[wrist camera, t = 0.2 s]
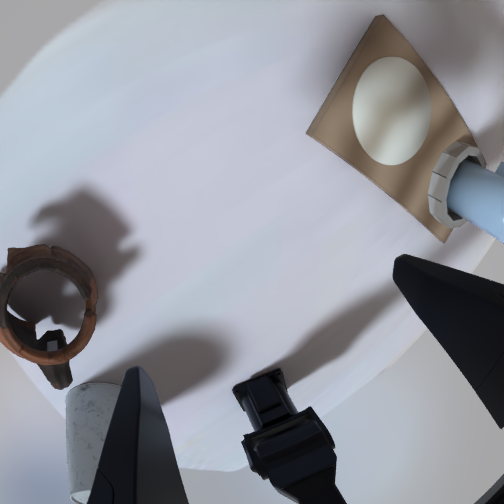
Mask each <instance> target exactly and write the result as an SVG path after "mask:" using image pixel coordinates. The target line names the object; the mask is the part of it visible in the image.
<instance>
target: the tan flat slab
mask: <svg viewBox="0 0 504 504" xmlns="http://www.w3.org/2000/svg"><path fill="white" fill-rule="evenodd" d="M306 134H307V135H309V136H310V137H312V138H313V139H315V140H316V141H318V142H319V143H320V144H322V145H323V146H325V147H326V148H328V149H329V150H330V151H332V152H333V153H335V154H336V155H337V156H339V157H340V158H341V159H343V160H344V161H346V162H347V163H348V164H350V165H351V166H352V167H354V168H355V169H356V170H357V171H359V172H360V173H361V174H363V175H364V176H365V177H367V178H368V179H369V180H370V181H372V182H373V183H374V184H375V185H377V186H378V187H379V188H380V189H382V190H383V191H384V192H385V193H387V194H388V195H389V196H390V197H391V198H393V199H394V200H395V201H396V202H397V203H399V204H400V205H401V206H402V207H403V208H404V209H406V210H407V211H408V212H409V213H410V214H411V215H412V216H414V217H415V218H416V219H417V220H418V221H419V222H420V223H421V224H422V225H424V226H425V227H426V228H427V229H428V230H429V231H430V232H431V233H432V234H433V235H434V236H435V237H436V238H438V239H439V240H440V241H441V242H443V243H444V244H445V242H446V240H447V238H448V237H449V235H450V233H451V232H452V230H453V228H456V227H460V226H462V225H463V224H464V223H465V222H466V221H467V220H466V219H464V218H463V217H461V216H459V215H458V214H456V213H454V212H453V211H451V210H449V209H448V208H447V200H446V198H447V194H448V190H449V185H450V181H451V179H452V177H453V175H454V173H455V171H456V169H457V167H458V165H459V163H460V162H462V161H463V160H464V159H465V160H468V161H470V162H472V163H475V164H477V165H479V166H481V167H484V168H485V166H486V163H485V159H484V157H483V155H482V153H481V151H480V149H479V148H478V147H477V145H476V143H475V141H474V139H473V137H472V135H471V134H470V132H469V130H468V128H467V126H466V125H465V123H464V121H463V119H462V118H461V116H460V114H459V113H458V111H457V110H456V108H455V106H454V105H453V103H452V102H451V100H450V98H449V97H448V95H447V94H446V92H445V91H444V89H443V88H442V86H441V85H440V84H439V82H438V81H437V79H436V78H435V76H434V75H433V74H432V72H431V71H430V70H429V68H428V67H427V66H426V64H425V63H424V62H423V60H422V59H421V58H420V56H419V55H418V54H417V53H416V51H415V50H414V49H413V48H412V46H411V45H410V44H409V43H408V42H407V40H406V39H405V38H404V37H403V36H402V35H401V34H400V32H399V31H398V30H397V29H396V28H395V27H394V26H393V25H392V23H391V22H390V21H389V20H388V19H387V18H386V17H385V16H384V15H380V16H376V17H375V18H374V20H373V21H372V23H371V25H370V26H369V28H368V30H367V31H366V33H365V35H364V36H363V38H362V40H361V41H360V43H359V45H358V46H357V48H356V50H355V51H354V53H353V55H352V56H351V58H350V60H349V61H348V63H347V65H346V66H345V68H344V70H343V71H342V73H341V75H340V76H339V78H338V80H337V81H336V83H335V85H334V86H333V88H332V90H331V91H330V93H329V95H328V96H327V98H326V100H325V101H324V103H323V105H322V107H321V108H320V110H319V112H318V113H317V115H316V117H315V118H314V120H313V122H312V124H311V125H310V127H309V129H308V130H307V132H306Z"/></svg>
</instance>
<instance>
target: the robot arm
mask: <svg viewBox="0 0 504 504" xmlns="http://www.w3.org/2000/svg"><path fill="white" fill-rule="evenodd" d="M393 280H394V282H395V284H396V285H397V286H398V288H399V289H400V291H401V292H402V294H403V295H404V297H405V298H406V300H407V301H408V303H409V304H410V306H411V307H412V309H413V310H414V311H415V313H416V314H417V315H418V317H419V318H420V319H421V320H422V322H423V323H424V324H425V325H426V327H427V328H428V329H429V330H430V332H431V333H432V334H433V335H434V337H435V338H436V339H437V340H438V342H439V343H440V344H441V346H442V347H443V348H444V350H446V352H447V353H448V355H449V356H450V357H451V359H452V360H453V361H454V363H455V364H456V365H457V367H458V368H459V369H460V371H461V372H462V374H463V375H464V376H465V378H466V379H467V380H468V382H469V383H470V385H471V386H472V388H473V389H474V390H475V392H476V394H477V395H478V396H479V398H480V399H481V400H482V402H483V403H484V405H485V407H486V408H487V409H488V411H489V413H490V414H491V416H492V417H493V419H494V420H495V422H496V423H497V425H498V426H499V428H500V429H502V428H503V427H504V284H501V283H498V282H495V281H490V280H489V279H485V278H482V277H479V276H476V275H473V274H470V273H467V272H464V271H460V270H457V269H454V268H451V267H448V266H444V265H441V264H438V263H434V262H431V261H428V260H424V259H421V258H418V257H414V256H411V255H407V254H403V255H401V256H399V257H397V258H396V259H395V261H394V268H393ZM232 391H233V394H234V395H235V397H236V399H237V401H238V402H239V404H240V406H241V408H242V409H243V411H246V413H247V415H248V417H249V420H250V422H251V424H252V426H253V429H254V431H255V432H252V433H250V434H245V435H243V436H244V438H245V439H244V440H243V441H242V442H241V443H242V445H243V448H244V450H245V453H246V455H247V459H248V462H249V465H250V468H251V470H252V471H253V472H256V473H258V474H259V476H260V475H261V477H262V479H263V480H265V479H268V478H269V480H270V482H271V484H272V485H273V487H274V488H275V489H276V490H277V491H278V492H279V493H280V494H282V495H283V496H285V497H287V498H289V499H290V500H292V501H294V502H296V503H298V504H347V503H346V502H345V500H344V498H343V497H342V495H341V493H340V492H339V490H338V488H337V487H336V485H335V475H336V461H337V456H336V454H335V453H334V450H333V449H334V448H335V444H334V441H333V439H332V436H331V435H330V433H329V431H328V429H327V428H326V426H325V425H324V424H323V423H322V421H321V420H320V418H319V417H318V416H317V414H316V413H315V412H314V410H313V409H312V407H311V406H310V407H308V408H306V409H305V410H303V411H301V412H299V413H298V411H297V409H296V407H295V406H294V404H293V402H292V400H291V398H290V397H289V395H288V393H287V388H286V384H285V380H284V376H283V372H282V370H281V369H277V370H274V371H272V372H270V373H268V374H265V375H263V376H261V377H258V378H256V379H254V380H251V381H249V382H246V383H244V384H242V385H239V386H237V387H234V388H233V389H232ZM87 504H189V503H188V499H187V497H186V493H185V490H184V486H183V483H182V480H181V476H180V472H179V469H178V465H177V461H176V458H175V454H174V450H173V446H172V442H171V438H170V433H169V430H168V426H167V423H166V420H165V417H164V414H163V412H162V409H161V406H160V403H159V400H158V397H157V393H156V390H155V387H154V384H153V382H152V380H151V379H150V378H149V376H148V375H147V374H146V373H145V371H144V370H143V369H142V368H141V367H140V366H136V367H133V368H130V369H128V370H127V372H126V374H125V377H124V380H123V383H122V386H121V389H120V392H119V395H118V398H117V401H116V405H115V408H114V411H113V414H112V417H111V421H110V424H109V427H108V431H107V434H106V437H105V441H104V444H103V448H102V451H101V455H100V459H99V462H98V468H97V470H96V474H95V477H94V481H93V485H92V488H91V492H90V495H89V498H88V501H87ZM474 504H504V474H503V475H502V476H501V478H500V479H499V480H498V481H497V482H496V483H495V484H494V485H493V486H492V487H491V488H490V489H489V490H488V491H487V492H486V493H485V494H484V495H483V496H482V497H481V498H480V499H479V500H478V501H477V502H475V503H474Z"/></svg>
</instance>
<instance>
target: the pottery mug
mask: <svg viewBox="0 0 504 504" xmlns="http://www.w3.org/2000/svg"><path fill="white" fill-rule="evenodd" d="M38 270H50V271H55V272H57V273H59V274H62V275H64V276H65V277H67V278H68V279H70V280H71V281H72V282H73V283H74V284H75V285H76V287H77V288H78V290H79V291H80V293H81V295H82V297H83V298H84V300H85V302H86V311H85V314H84V320H83V324H82V327H81V329H80V331H79V333H78V335H77V336H76V337H75V339H74V340H73V341H72V342H70V343H69V344H67V342H66V338H65V336H64V334H63V331H62V330H61V329H58V330H54V331H47V332H46V333H45V334H44V335H43V336H42V337H41V338H40V339H38V340H37V338H36V331H35V328H36V326H35V322H29V321H24V320H21V319H18V318H17V317H15V316H14V315H12V314H11V313H9V312H8V311H7V303H8V299H9V295H10V293H11V290H12V289H13V287H14V285H15V284H16V282H17V281H18V280H20V279H21V278H22V277H23V276H25V275H27V274H29V273H31V272H34V271H38ZM97 299H98V293H97V287H96V283H95V280H94V277H93V274H92V272H91V270H90V268H89V267H88V266H87V265H86V264H85V263H84V262H82V261H81V260H80V259H79V258H77V257H76V256H75V255H73V254H72V253H70V252H69V251H67V250H64V249H62V248H60V247H58V246H52V247H51V249H50V248H49V247H48V246H47V245H45V244H42V245H35V246H30V247H27V248H8V257H7V273H6V274H2V273H0V342H1V343H2V344H3V345H4V346H5V347H6V348H7V349H8V350H10V351H11V352H12V353H14V354H16V355H17V356H19V357H21V358H25V359H27V360H29V361H31V362H33V363H36V364H37V365H38V366H39V367H40V369H41V370H42V372H43V373H44V375H45V377H46V378H47V380H48V381H49V382H50V383H51V385H52V386H53V387H54V388H55V389H59V390H62V389H64V388H66V387H68V386H69V385H70V384H71V383H72V381H73V378H72V374H71V370H70V366H69V360H70V359H72V358H73V357H75V356H76V355H77V354H78V353H80V352H81V351H82V350H83V349H84V348H85V346H86V345H87V344H88V342H89V340H90V339H91V337H92V334H93V332H94V330H95V324H96V316H97V315H96V314H95V311H96V305H95V304H96V302H97Z"/></svg>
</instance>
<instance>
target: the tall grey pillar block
mask: <svg viewBox="0 0 504 504" xmlns="http://www.w3.org/2000/svg"><path fill="white" fill-rule="evenodd" d="M120 389H121V386H120V385H116V384H111V383H102V382H94V383H86V384H82V385H79V386H77V387H74V388H73V389H72V390H70V391H69V392H68V394H67V395H66V400H65V403H66V447H67V464H68V476H69V485H70V499H71V500H72V501H73V502H75V503H76V504H87V501H88V498H89V495H90V492H91V488H92V485H93V481H94V477H95V474H96V470H97V468H98V462H99V459H100V455H101V451H102V448H103V444H104V441H105V437H106V434H107V431H108V427H109V424H110V421H111V417H112V414H113V411H114V408H115V405H116V401H117V398H118V395H119V392H120Z"/></svg>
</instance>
